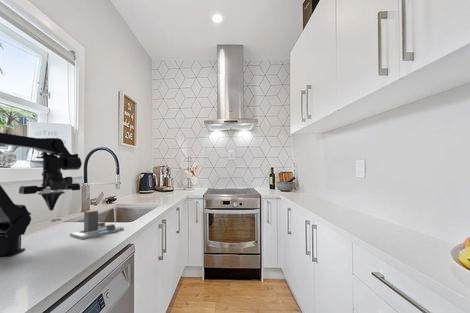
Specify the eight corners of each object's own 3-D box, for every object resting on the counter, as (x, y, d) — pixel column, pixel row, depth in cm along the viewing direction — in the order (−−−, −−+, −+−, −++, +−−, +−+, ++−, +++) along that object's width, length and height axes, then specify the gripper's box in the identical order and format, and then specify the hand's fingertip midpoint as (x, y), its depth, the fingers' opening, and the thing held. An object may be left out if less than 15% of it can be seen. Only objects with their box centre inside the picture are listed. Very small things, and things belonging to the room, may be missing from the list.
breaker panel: (81, 239, 99) (81, 231, 99) (70, 235, 105) (70, 228, 105) (123, 229, 114) (123, 222, 114) (111, 226, 120) (111, 220, 120)
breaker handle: (88, 233, 105) (88, 211, 105) (84, 231, 106) (84, 211, 107) (97, 231, 108) (98, 210, 108) (93, 229, 110) (93, 209, 110)
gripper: (30, 171, 86) (29, 216, 85) (87, 170, 101) (86, 208, 101) (18, 170, 92) (17, 213, 91) (74, 169, 108) (73, 206, 107)
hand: (51, 210), depth 98 cm, fingers closed
